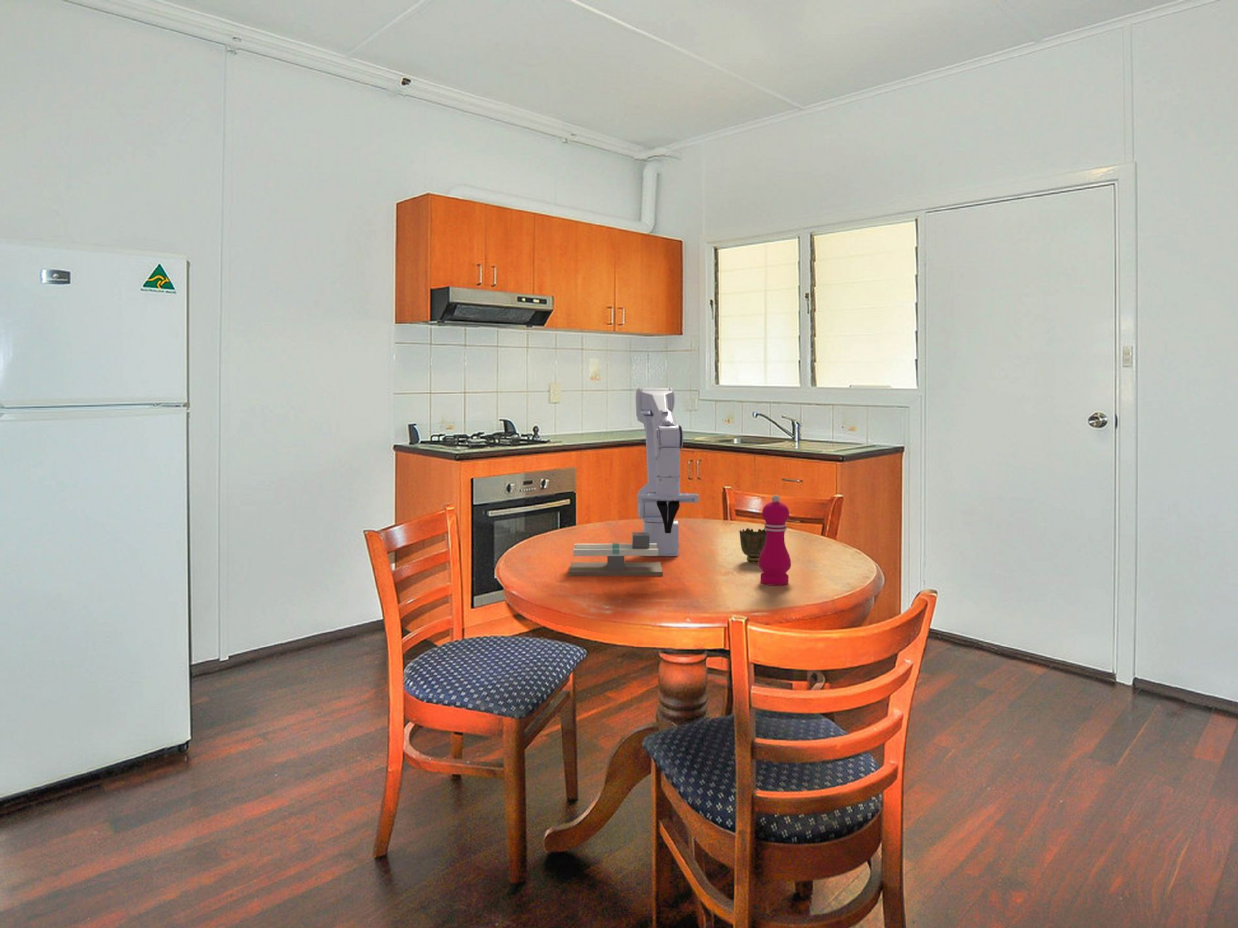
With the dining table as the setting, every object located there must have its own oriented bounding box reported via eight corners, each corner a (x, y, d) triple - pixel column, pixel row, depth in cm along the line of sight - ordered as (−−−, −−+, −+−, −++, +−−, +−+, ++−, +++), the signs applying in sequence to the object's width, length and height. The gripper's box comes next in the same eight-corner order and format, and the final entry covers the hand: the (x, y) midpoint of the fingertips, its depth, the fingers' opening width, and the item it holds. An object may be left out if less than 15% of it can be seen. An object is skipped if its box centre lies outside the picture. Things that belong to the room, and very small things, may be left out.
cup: (770, 559, 200) (771, 528, 199) (766, 566, 193) (767, 534, 192) (741, 557, 203) (742, 527, 202) (736, 563, 196) (737, 532, 195)
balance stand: (660, 565, 194) (660, 541, 193) (662, 575, 184) (662, 550, 183) (571, 566, 193) (570, 542, 193) (569, 576, 184) (568, 550, 183)
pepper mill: (754, 578, 181) (756, 493, 179) (785, 577, 182) (787, 492, 180) (763, 586, 174) (764, 497, 172) (794, 585, 175) (796, 497, 173)
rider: (648, 548, 190) (648, 532, 190) (649, 552, 186) (649, 535, 186) (632, 548, 190) (632, 532, 190) (632, 552, 186) (632, 535, 186)
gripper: (638, 478, 182) (638, 535, 184) (700, 478, 182) (699, 535, 184) (637, 474, 189) (637, 530, 191) (697, 474, 189) (696, 529, 191)
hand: (667, 532), depth 188 cm, fingers closed
